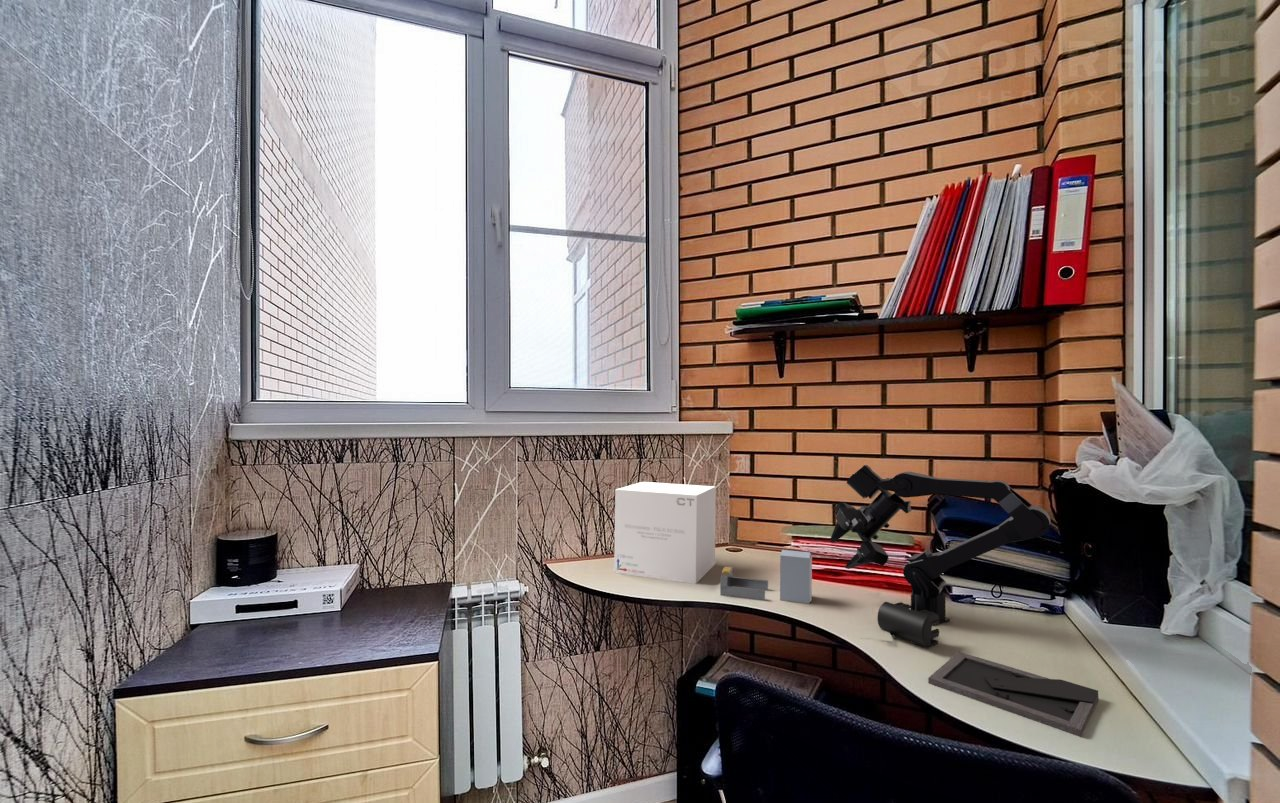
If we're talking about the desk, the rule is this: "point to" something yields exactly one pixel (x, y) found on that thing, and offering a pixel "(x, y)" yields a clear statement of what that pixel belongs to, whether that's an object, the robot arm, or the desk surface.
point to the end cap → (909, 623)
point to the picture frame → (1018, 692)
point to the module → (795, 576)
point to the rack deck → (742, 586)
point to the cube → (665, 531)
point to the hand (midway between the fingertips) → (838, 554)
